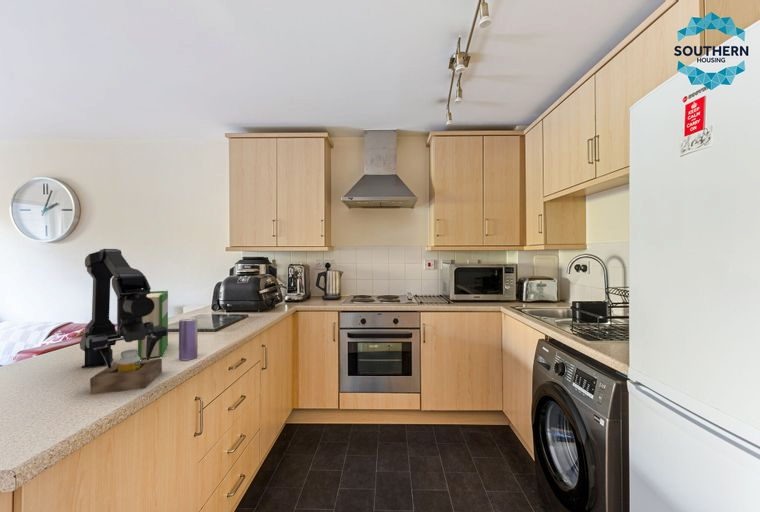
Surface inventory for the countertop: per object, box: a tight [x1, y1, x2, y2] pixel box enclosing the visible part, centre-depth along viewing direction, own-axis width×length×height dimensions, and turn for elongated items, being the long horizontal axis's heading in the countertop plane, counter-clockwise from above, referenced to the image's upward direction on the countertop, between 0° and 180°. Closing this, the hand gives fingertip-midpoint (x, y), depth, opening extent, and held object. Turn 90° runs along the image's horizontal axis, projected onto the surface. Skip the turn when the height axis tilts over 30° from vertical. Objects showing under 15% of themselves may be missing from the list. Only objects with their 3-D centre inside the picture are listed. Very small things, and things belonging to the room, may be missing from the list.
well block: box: [89, 358, 163, 395], centre depth 92 cm, size 13×13×4 cm
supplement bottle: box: [117, 348, 140, 372], centre depth 92 cm, size 5×5×10 cm
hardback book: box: [137, 290, 169, 360], centre depth 121 cm, size 18×7×24 cm, turn 30°
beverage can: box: [178, 317, 199, 361], centre depth 114 cm, size 6×6×15 cm
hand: (129, 363), depth 92 cm, fingers open, 9 cm apart
